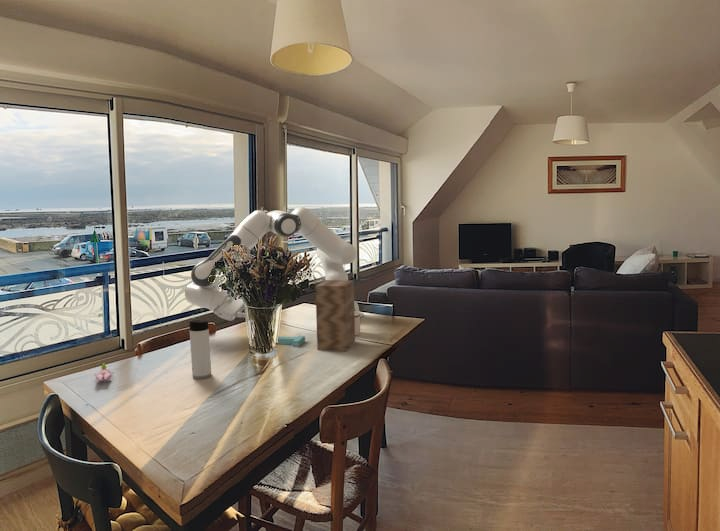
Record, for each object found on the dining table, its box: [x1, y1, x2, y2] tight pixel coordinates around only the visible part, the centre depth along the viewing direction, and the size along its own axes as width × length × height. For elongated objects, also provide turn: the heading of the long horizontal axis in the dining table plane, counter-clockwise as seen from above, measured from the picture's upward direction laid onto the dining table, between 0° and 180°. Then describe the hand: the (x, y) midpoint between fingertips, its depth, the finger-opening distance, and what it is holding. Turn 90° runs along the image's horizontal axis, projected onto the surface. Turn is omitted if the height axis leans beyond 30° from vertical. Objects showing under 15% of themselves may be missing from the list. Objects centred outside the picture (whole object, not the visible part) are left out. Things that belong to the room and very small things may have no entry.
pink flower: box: [94, 363, 115, 382], centre depth 174 cm, size 6×6×15 cm
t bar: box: [277, 335, 306, 348], centre depth 216 cm, size 18×8×2 cm, turn 77°
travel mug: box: [188, 319, 212, 380], centre depth 176 cm, size 6×7×20 cm
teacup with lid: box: [354, 310, 361, 336], centre depth 228 cm, size 12×9×12 cm
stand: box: [315, 279, 356, 352], centre depth 209 cm, size 12×14×26 cm
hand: (252, 311), depth 220 cm, fingers open, 8 cm apart
